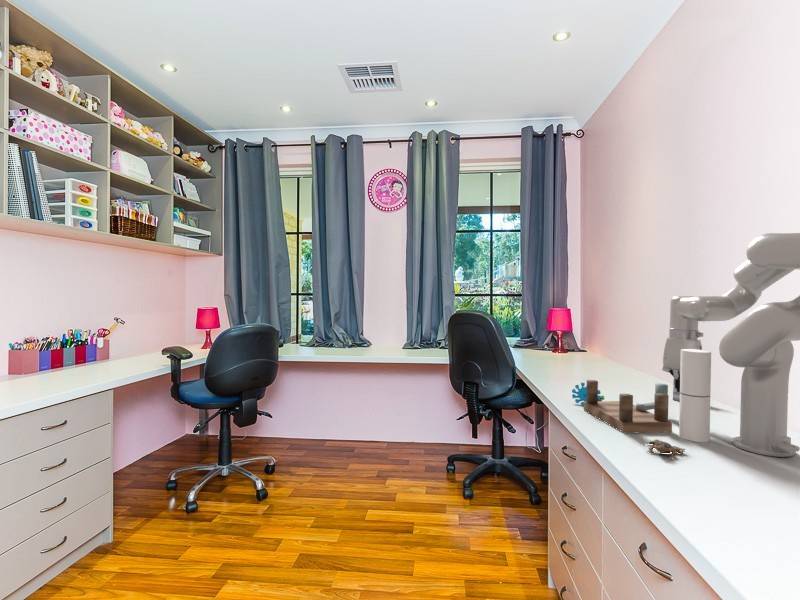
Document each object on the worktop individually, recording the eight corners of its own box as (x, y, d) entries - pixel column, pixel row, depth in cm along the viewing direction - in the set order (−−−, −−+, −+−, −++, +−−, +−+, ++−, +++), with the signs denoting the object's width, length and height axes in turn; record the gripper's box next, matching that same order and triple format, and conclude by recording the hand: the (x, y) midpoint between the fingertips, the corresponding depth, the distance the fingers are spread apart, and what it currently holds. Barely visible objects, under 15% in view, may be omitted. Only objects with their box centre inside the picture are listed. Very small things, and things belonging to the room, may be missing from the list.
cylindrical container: (680, 439, 120) (682, 351, 119) (677, 432, 126) (679, 348, 125) (711, 443, 116) (713, 353, 116) (707, 435, 123) (708, 349, 122)
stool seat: (671, 432, 126) (672, 396, 126) (623, 432, 125) (623, 396, 125) (624, 409, 150) (625, 379, 150) (583, 410, 149) (583, 379, 149)
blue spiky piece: (568, 399, 157) (575, 378, 162) (569, 408, 160) (577, 387, 165) (600, 409, 150) (607, 386, 155) (600, 417, 154) (607, 395, 159)
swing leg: (642, 411, 136) (643, 388, 135) (632, 409, 139) (633, 386, 139) (670, 407, 141) (670, 385, 141) (659, 405, 144) (660, 383, 144)
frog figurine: (689, 467, 102) (689, 451, 102) (633, 454, 110) (633, 440, 110) (695, 453, 110) (695, 439, 110) (643, 442, 118) (643, 429, 118)
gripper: (714, 336, 132) (711, 394, 133) (660, 331, 143) (658, 385, 144) (709, 338, 127) (706, 398, 128) (653, 333, 138) (651, 389, 139)
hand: (680, 391), depth 136 cm, fingers closed
